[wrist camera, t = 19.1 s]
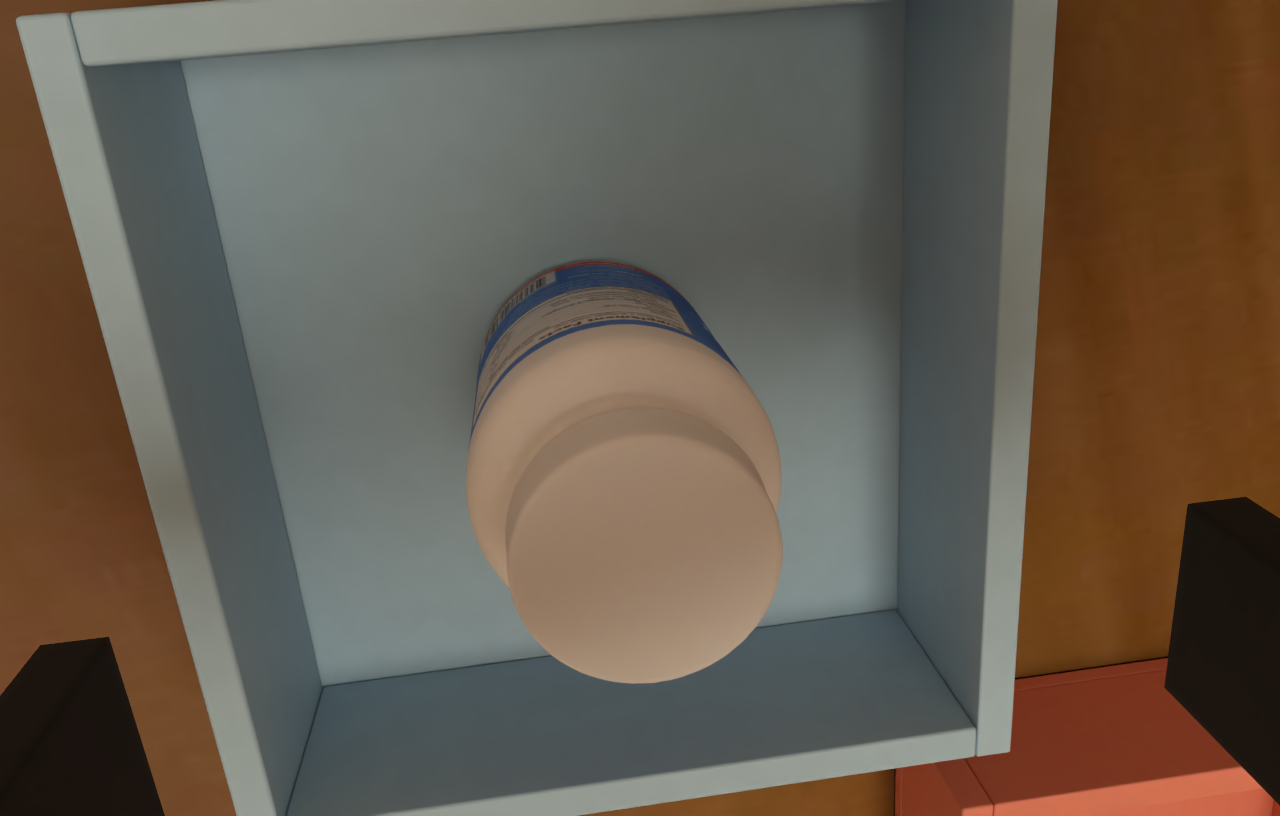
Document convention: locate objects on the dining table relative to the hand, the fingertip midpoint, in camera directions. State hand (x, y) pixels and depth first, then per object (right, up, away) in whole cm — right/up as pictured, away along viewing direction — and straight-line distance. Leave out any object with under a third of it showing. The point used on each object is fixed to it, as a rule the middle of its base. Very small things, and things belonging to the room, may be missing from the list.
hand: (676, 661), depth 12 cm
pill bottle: (-1, +4, +11) cm, 12 cm away
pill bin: (-2, +4, +12) cm, 12 cm away
